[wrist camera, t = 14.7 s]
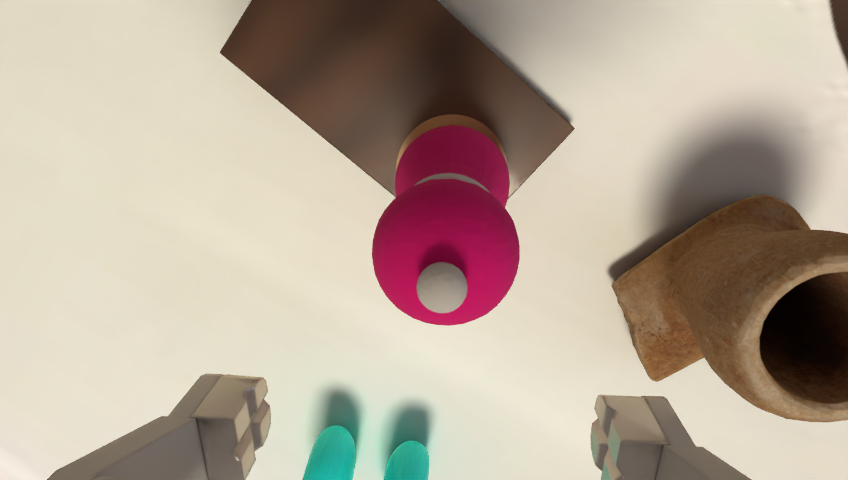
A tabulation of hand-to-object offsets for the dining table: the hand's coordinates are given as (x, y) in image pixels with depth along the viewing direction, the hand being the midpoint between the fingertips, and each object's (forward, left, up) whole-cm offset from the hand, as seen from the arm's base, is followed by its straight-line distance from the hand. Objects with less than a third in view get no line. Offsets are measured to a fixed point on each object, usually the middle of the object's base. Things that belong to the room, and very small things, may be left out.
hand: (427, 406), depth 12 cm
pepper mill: (0, 0, -25) cm, 25 cm away
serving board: (-7, +2, -26) cm, 27 cm away
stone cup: (+19, +7, -27) cm, 33 cm away
